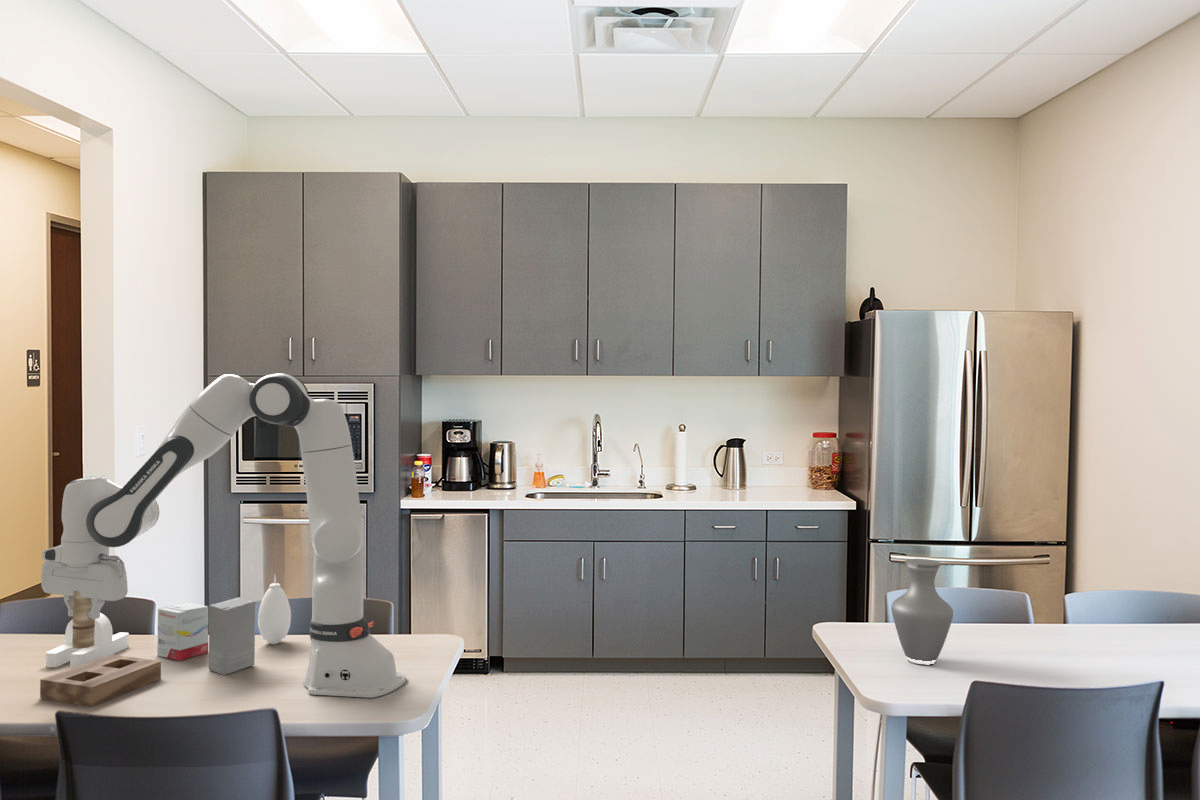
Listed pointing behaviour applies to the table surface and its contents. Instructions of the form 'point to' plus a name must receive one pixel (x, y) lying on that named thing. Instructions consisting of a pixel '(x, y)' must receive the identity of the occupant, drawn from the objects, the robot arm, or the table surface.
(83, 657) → the white slotted holder
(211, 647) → the skincare box
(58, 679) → the board
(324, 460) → the robot arm
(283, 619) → the white bulb air blower
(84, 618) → the dowel
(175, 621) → the ink box
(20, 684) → the table surface
